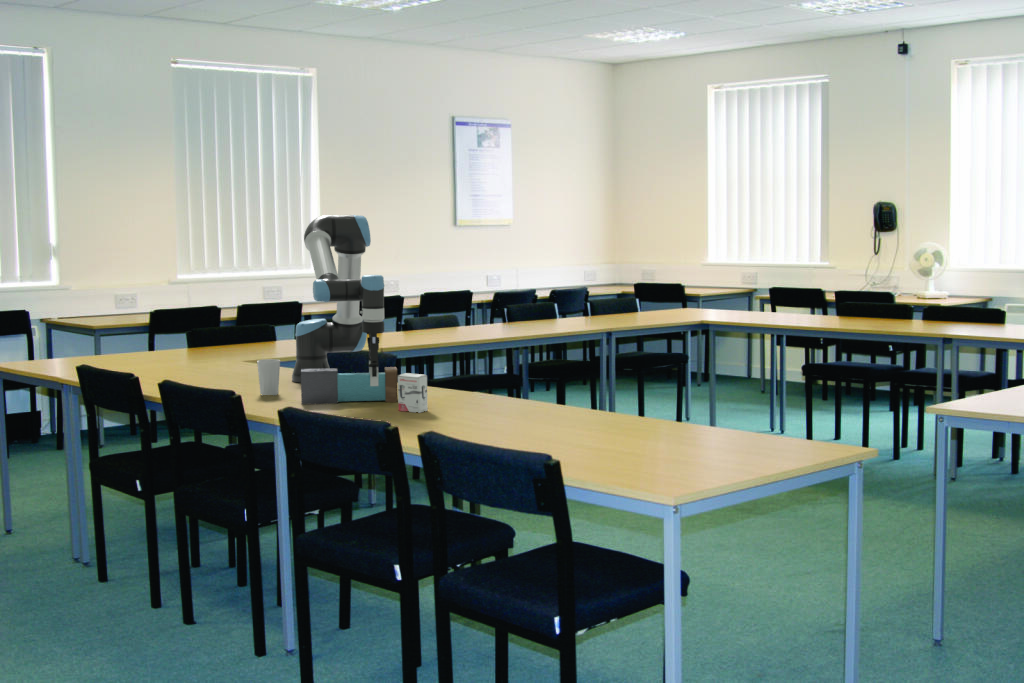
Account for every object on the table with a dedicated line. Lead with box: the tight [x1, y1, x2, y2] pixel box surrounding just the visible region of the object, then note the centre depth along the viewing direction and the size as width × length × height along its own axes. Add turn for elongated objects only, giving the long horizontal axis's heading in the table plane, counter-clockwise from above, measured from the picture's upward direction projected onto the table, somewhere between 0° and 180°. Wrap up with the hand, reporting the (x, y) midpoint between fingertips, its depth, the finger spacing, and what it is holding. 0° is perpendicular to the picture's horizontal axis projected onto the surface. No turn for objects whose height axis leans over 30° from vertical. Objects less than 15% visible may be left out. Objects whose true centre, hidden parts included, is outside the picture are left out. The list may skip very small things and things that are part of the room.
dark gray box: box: [300, 367, 339, 405], centre depth 367 cm, size 7×12×11 cm, turn 99°
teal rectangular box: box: [337, 371, 386, 402], centre depth 369 cm, size 4×22×9 cm, turn 99°
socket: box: [384, 366, 398, 403], centre depth 371 cm, size 7×4×11 cm, turn 9°
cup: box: [256, 358, 281, 396], centre depth 384 cm, size 8×8×12 cm
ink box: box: [397, 372, 429, 414], centre depth 350 cm, size 9×5×12 cm, turn 62°
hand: (373, 382), depth 370 cm, fingers open, 13 cm apart
